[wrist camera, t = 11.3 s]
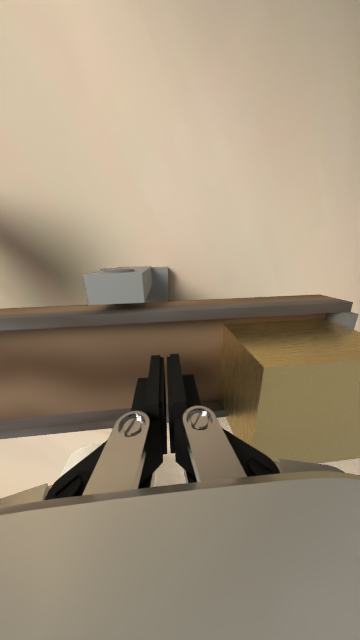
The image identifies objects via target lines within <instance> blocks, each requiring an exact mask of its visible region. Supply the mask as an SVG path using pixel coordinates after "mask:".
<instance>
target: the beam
mask: <svg viewBox="0 0 360 640" xmlns="http://www.w3.org/2000/svg"><path fill="white" fill-rule="evenodd" d="M352 304H353V302H349V301H345V300H341V299H336V298H332V297H328V296H323V295H301V296H278V297H255V298H233V299H210V300H188V301H165V302H145V303H126V304H102V305H75V306H52V307H30V308H7V309H0V439H7V438H17V437H27V436H37V435H47V434H57V433H67V432H77V431H87V430H97V429H107V428H114V425H115V423H116V422H117V420H118V419H119V418H120V417H121V416H122V415H124V414H126V413H128V412H131V408H132V403H133V398H134V394H135V389H136V384H137V380H138V378H146V377H148V376H149V368H150V360H151V355H160V357H164V369H165V386H166V419H167V422H169V413H168V387H167V357H170V354H179V358H180V365H181V371H182V375H189V374H193V375H194V379H195V383H196V387H197V391H198V395H199V398H200V402H201V406H204V407H207V408H209V409H210V410H211V411H213V413H214V414H215V416H216V418H217V417H226V415H225V413H224V410H223V408H222V405H221V403H220V400H219V390H220V372H221V354H222V337H223V324H236V323H254V322H272V321H290V320H308V319H326V320H329V321H331V322H334V323H337V324H339V325H342V326H345V327H347V328H350V329H353V330H354V327H355V324H356V321H357V317H358V314H356V313H353V312H350V311H351V308H352Z"/></svg>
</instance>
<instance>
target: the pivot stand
mask: <svg viewBox="0 0 360 640" xmlns="http://www.w3.org/2000/svg"><path fill="white" fill-rule="evenodd" d="M83 278H84V284H85V289H86V294H87V299H88V305H102V304H126V303H145V302H165V301H169V287H168V267H151V266H149V267H118V268H108V269H101V271H99V272H94V273H89V274H84V275H83ZM112 430H113V429H112Z"/></svg>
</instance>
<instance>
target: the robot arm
mask: <svg viewBox="0 0 360 640" xmlns="http://www.w3.org/2000/svg"><path fill="white" fill-rule="evenodd" d="M167 387H168V413H169V431H170V449H171V453H175V457H176V462H177V463H178V464H179V465H180V466H181V467H183V468H184V475H185V479H186V484H177V485H168V486H160V487H153V483H154V477H155V470H156V469H157V468H158V467H159V466H160V464H161V463H163V454H167V419H166V386H165V369H164V357H160V355H151V360H150V368H149V376H148V377H146V378H138V380H137V384H136V389H135V394H134V398H133V403H132V408H131V412H128V413H126V414H124V415H122V416H121V417H120V418H119V419H118V420H117V422H116V423H115V425H114V428H113V430H112V432H111V434H110V436H109V438H108V440H107V441H106V442H104V443H103V444H102V445H100V446H99V447H98V448H97V449H95V450H94V451H93V452H92V453H90V454H89V455H88V456H86V457H85V458H84V459H83V460H81V461H80V462H79V463H78V464H76V465H75V466H74V467H72V468H71V469H70V470H69V471H67V472H66V473H65V474H63V475H62V476H61V477H60V478H59V479H58V480H57V481H56V482H55V483H54V484H53V485H51V486H48V484H47V483H46V484H43V485H40V486H37V487H34V488H31V489H28V490H25V491H22V492H19V493H16V494H13V495H10V496H7V497H4V498H1V499H0V640H360V475H354V474H348V473H345V472H343V471H341V470H339V469H338V468H336V467H332V466H329V465H322V464H315V463H308V462H301V461H294V460H286V459H279V458H278V461H272V459H271V458H269V457H268V456H267V455H265V454H264V453H262V452H260V451H259V450H257V449H256V448H254V447H252V446H251V445H249V444H247V443H246V442H244V441H242V440H241V439H239V438H238V437H236V436H234V435H233V434H231V433H229V432H228V431H226V430H224V429H223V428H222V427H221V425H220V423H219V421H218V420H217V418H216V416H215V414H214V413H213V411H211V410H210V409H209V408H207V407H204V406H201V402H200V398H199V395H198V391H197V387H196V383H195V379H194V375H193V374H189V375H182V371H181V365H180V358H179V354H170V357H167Z"/></svg>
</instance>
